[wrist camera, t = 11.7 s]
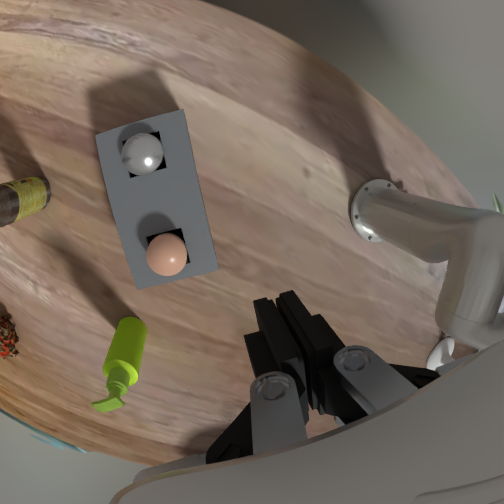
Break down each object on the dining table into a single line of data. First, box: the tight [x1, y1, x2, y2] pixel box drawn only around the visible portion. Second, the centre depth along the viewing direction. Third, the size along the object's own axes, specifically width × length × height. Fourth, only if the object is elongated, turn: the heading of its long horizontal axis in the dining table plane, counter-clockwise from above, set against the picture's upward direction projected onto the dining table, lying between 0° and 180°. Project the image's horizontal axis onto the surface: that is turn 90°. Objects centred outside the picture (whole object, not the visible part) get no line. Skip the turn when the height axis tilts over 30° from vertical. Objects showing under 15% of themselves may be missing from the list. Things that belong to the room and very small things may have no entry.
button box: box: [95, 109, 219, 289], centre depth 40 cm, size 12×22×10 cm, turn 11°
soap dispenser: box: [91, 317, 147, 412], centre depth 41 cm, size 6×7×20 cm
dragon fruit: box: [0, 316, 19, 359], centre depth 42 cm, size 8×8×12 cm
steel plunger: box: [121, 133, 164, 175], centre depth 35 cm, size 5×5×8 cm
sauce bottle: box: [0, 177, 51, 227], centre depth 30 cm, size 6×6×20 cm
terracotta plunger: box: [146, 230, 187, 276], centre depth 38 cm, size 5×5×8 cm
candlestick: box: [426, 337, 455, 370], centre depth 60 cm, size 13×13×30 cm
